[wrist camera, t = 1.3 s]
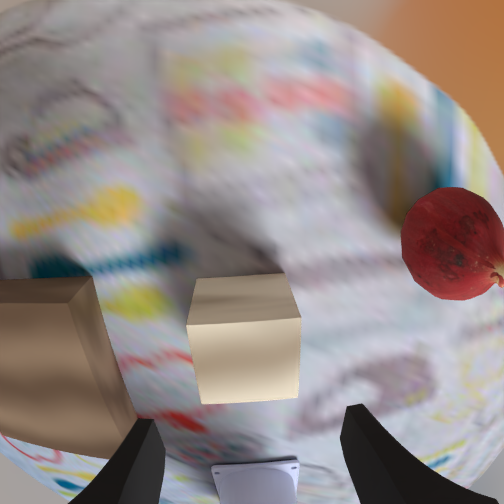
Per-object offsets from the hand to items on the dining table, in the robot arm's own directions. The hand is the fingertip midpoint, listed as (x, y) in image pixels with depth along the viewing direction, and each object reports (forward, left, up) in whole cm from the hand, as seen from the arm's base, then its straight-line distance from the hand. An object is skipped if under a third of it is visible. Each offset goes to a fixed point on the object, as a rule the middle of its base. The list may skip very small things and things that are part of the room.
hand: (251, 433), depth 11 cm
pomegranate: (+5, -11, -9) cm, 15 cm away
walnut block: (-4, +16, -10) cm, 19 cm away
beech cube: (0, 0, -9) cm, 9 cm away
